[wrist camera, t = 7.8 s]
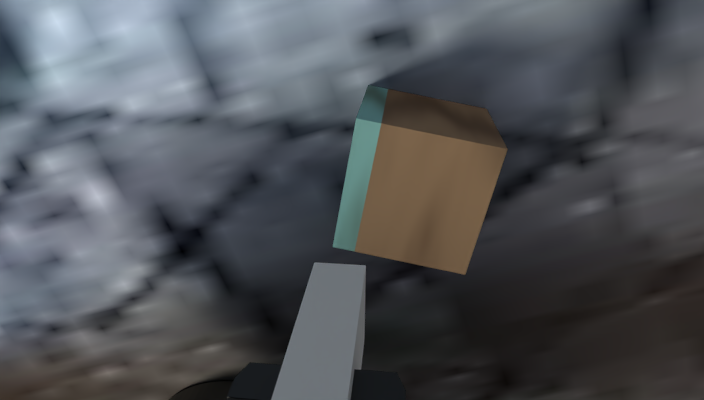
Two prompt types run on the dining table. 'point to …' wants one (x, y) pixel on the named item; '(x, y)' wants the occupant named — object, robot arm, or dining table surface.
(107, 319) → the dining table surface
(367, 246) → the brown and green cube
